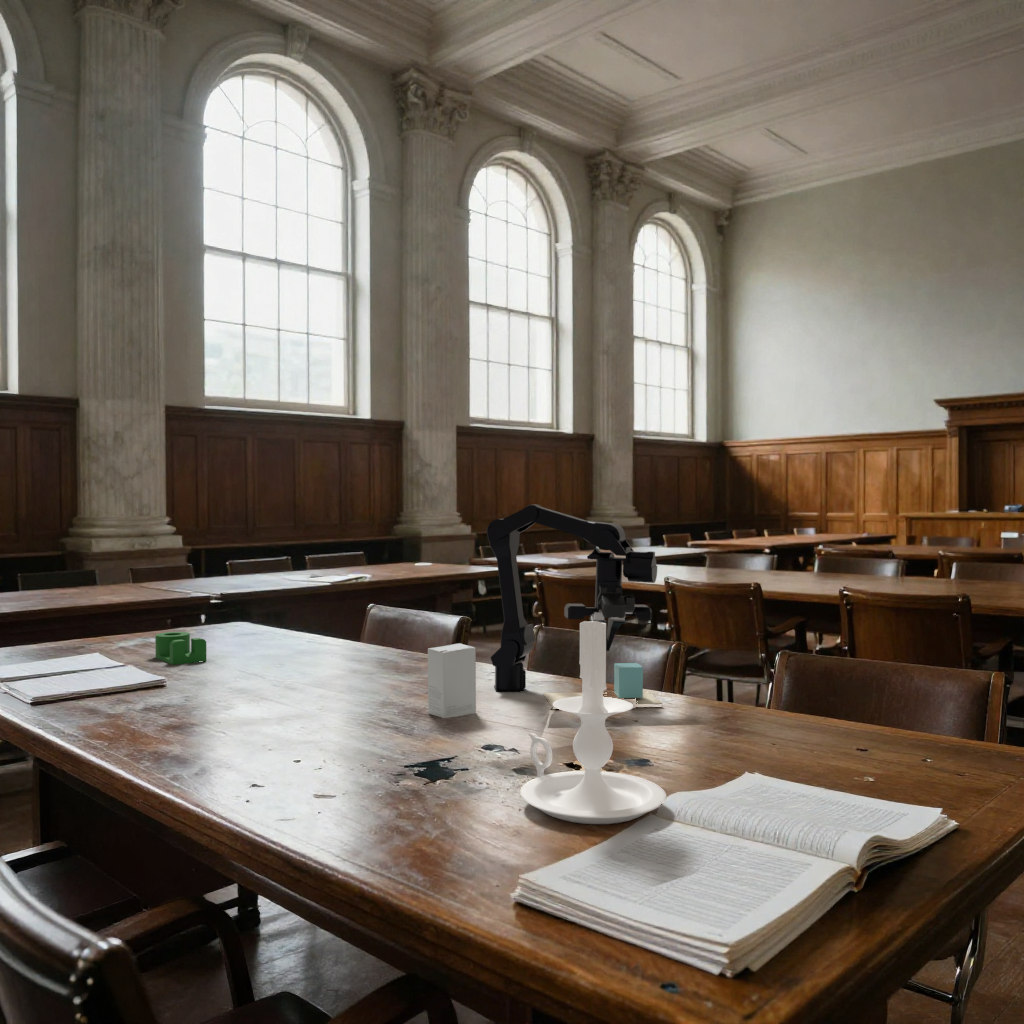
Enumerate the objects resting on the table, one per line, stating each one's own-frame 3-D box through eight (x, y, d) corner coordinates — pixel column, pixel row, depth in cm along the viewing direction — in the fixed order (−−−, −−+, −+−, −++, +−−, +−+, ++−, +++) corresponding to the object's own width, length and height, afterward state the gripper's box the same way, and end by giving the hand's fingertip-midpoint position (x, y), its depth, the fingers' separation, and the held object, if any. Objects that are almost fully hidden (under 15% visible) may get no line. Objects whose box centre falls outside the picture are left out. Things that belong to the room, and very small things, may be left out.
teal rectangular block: (619, 698, 200) (619, 667, 200) (614, 693, 205) (614, 663, 205) (642, 697, 200) (642, 667, 200) (637, 692, 206) (637, 663, 206)
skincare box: (459, 714, 191) (460, 642, 191) (477, 719, 186) (477, 646, 186) (426, 720, 186) (426, 646, 186) (443, 726, 181) (443, 650, 181)
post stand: (550, 710, 195) (550, 674, 195) (543, 697, 207) (543, 664, 207) (662, 707, 198) (662, 672, 197) (648, 695, 209) (648, 662, 209)
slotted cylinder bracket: (151, 656, 260) (151, 633, 260) (183, 653, 266) (183, 630, 266) (172, 665, 246) (172, 641, 246) (206, 662, 252) (206, 638, 252)
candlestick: (580, 776, 149) (581, 602, 148) (697, 819, 129) (698, 619, 129) (474, 801, 137) (475, 612, 136) (585, 853, 117) (586, 631, 116)
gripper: (572, 583, 196) (570, 657, 196) (659, 584, 198) (657, 657, 198) (564, 578, 207) (563, 647, 207) (646, 579, 209) (644, 648, 209)
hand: (606, 650), depth 205 cm, fingers closed
